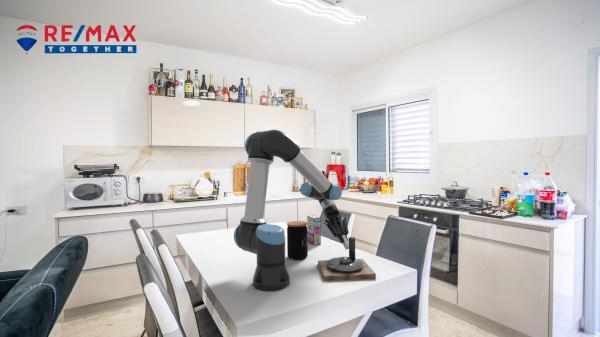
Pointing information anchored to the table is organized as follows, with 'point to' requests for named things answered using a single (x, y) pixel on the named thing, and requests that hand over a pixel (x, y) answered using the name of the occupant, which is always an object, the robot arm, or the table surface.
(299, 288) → the table surface
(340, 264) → the capstan turntable
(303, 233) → the coffee jar
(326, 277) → the walnut base
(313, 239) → the candy bar box
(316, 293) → the table surface
